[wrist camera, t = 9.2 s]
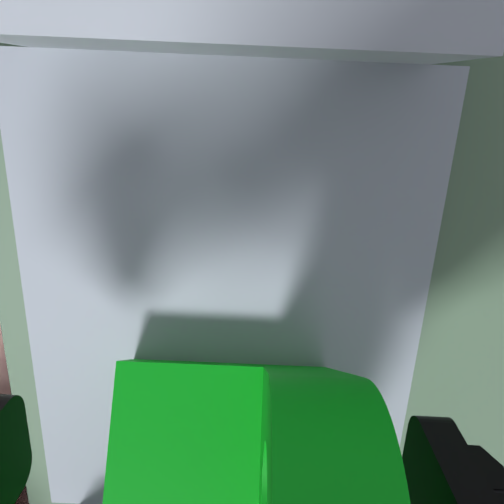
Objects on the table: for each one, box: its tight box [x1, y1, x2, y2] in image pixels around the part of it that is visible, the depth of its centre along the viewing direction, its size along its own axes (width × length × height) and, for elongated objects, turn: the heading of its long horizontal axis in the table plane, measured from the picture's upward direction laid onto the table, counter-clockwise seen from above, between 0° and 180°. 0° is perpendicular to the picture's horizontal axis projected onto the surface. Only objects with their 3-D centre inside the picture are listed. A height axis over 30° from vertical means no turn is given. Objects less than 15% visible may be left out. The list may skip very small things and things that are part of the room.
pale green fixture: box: [0, 0, 504, 504], centre depth 13 cm, size 18×20×6 cm
